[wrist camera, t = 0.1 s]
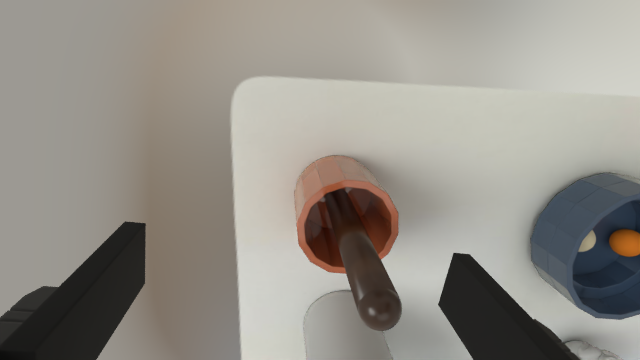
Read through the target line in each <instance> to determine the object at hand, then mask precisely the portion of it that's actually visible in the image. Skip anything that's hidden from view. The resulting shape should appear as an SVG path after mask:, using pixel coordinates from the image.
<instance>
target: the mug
mask: <svg viewBox="0 0 640 360" xmlns="http://www.w3.org/2000/svg"><path fill="white" fill-rule="evenodd" d="M304 339H305V349H306V360H393V358H392V355H391V353H390V350H389V347H388V344H387V342H386V339H385V336H384V334H383V331H376V330H373V329H371V328H369V327H367V326H366V325H365V324H364V323H363V322H362V320H361V319H360V316H359V314H358V311H357V307H356V304H355V301H354V297H353V294H352V292H350V291H337V292H332V293H329V294H326V295H324V296H322V297H321V298H319V299H318V300H316V301H315V302H314V303H313V304H312V305H311V306H310V308H309V309H308V311H307V313H306V315H305V318H304Z"/></svg>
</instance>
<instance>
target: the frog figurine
mask: <svg viewBox="0 0 640 360" xmlns="http://www.w3.org/2000/svg"><path fill="white" fill-rule="evenodd" d="M565 345H566V346H567V347H568V348H569V349H570V350H571V352H573V353H574V354H575V355H576V356H577V357H578V358H579V359H580V360H623V359H621V358H620V357H618V356H617V355H615V354H613V353H611V352H609V351H606V350H602V351H601V350H600V349H599V348H597V347H593V346H592V345H590V344H588V343H585V342H582V341H570V342H567V343H565Z"/></svg>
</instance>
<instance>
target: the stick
mask: <svg viewBox="0 0 640 360" xmlns="http://www.w3.org/2000/svg"><path fill="white" fill-rule="evenodd" d="M325 204H326V207H327V210H328V214H329V217H330V220H331V224H332V227H333V230H334V234H335V237H336V241H337V244H338V247H339V251H340V254H341V257H342V261H343V264H344V267H345V271H346V274H347V277H348V281H349V284H350V287H351V291H352V294H353V297H354V301H355V304H356V307H357V311H358V314H359V316H360V319H361V320H362V322H363V323H364V324H365V325H366V326H367V327H369V328H371V329H373V330H376V331H386V330H389V329H391V328H392V327H394V326H395V325H396V324H397V323H398V321H399V320H400V317H401V314H402V304H401V301H400V298H399V296H398V294H397V292H396V290H395V288H394V286H393V284H392V282H391V280H390V278H389V276H388V274H387V272H386V270H385V268H384V266H383V264H382V262H381V260H380V258H379V256H378V254H377V252H376V250H375V248H374V246H373V244H372V241H371V239H370V237H369V235H368V233H367V231H366V229H365V227H364V225H363V223H362V221H361V219H360V217H359V215H358V213H357V211H356V209H355V207H354V205H353V203H352V201H351V199H350V197H349V195H348V193H347V192H346V191H344V190H343V189H338V190H335V191H332V192H328V194H327V195H326V198H325Z"/></svg>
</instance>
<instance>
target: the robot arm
mask: <svg viewBox="0 0 640 360" xmlns="http://www.w3.org/2000/svg"><path fill="white" fill-rule="evenodd" d="M145 226H146V224H145V223H135V222H124V223H123V224H122V225H121V226H120V227H119V228H118V229H117V230H116V231H115V232H114V233H113V234H112V235H111V236H110V237H109V238H108V239H107V240H106V241H105V242H104V243H103V244H102V245H101V246H100V247H99V248H98V249H97V250H96V251H95V252H94V253H93V254H92V255H91V256H90V257H89V258H88V259H87V260H86V261H85V262H84V263H83V264H82V265H81V266H80V267H79V268H78V269H77V270H76V271H75V272H74V273H73V274H72V275H71V276H70V277H69V278H68V279H67V280H66V281H64V283H62V284H61V286H59V287H48V286H43V287H41V288H39V289H37V290H35V291H33V292H31V293H29V294H27V295H25V296H24V297H23V298H22V299H21V300H19V301H18V302H17V303H16V304H15V305H14V306H13V307H12V308H11V309H10V311H7V312H6V313H5V314H4V315H3V316H1V317H0V360H96V359H97V358H98V356H99V355H100V353H101V351H102V350H103V348H104V347H105V345H106V344H107V342H108V340H109V339H110V337H111V336H112V334H113V333H114V331H115V329H116V328H117V326H118V325H119V323H120V322H121V320H122V318H123V317H124V315H125V314H126V312H127V310H128V309H129V307H130V306H131V304H132V303H133V301H134V299H135V298H136V296H137V295H138V293H139V292H140V290H141V289H142V287H143V285H144V284H145ZM438 305H439V307H440V308H441V310H442V311H443V313H444V314H445V316H446V318H447V319H448V321H449V322H450V324H451V325H452V327H453V328H454V330H455V332H456V333H457V335H458V336H459V338H460V339H461V341H462V342H463V344H464V346H465V347H466V349H467V350H468V352H469V353H470V355H471V356H472V358H473V360H580V359H579V358H578V357H577V356H576V355H575V354H574V353H573V352H571V350H570V349H569V348H568V347H567V346H566V345H565V344H564V343H562V341H561V340H560V339H559V338H558V337H557V336H556V335H555V334H554V333H553V332H552V331H551V330H550V329H549V328H547V327H546V326H544V325H543V324H541V323H540V322H538V321H537V320H536V319H532V318H531V317H530V316H529V315H528V314H527V313H526V312H525V311H524V310H523V309H522V308H521V307H520V306H519V304H518V303H517V302H516V301H515V300H514V299H513V298H512V297H511V296H510V295H509V294H508V293H507V292H506V291H505V290H504V289H503V288H502V287H501V286H500V285H499V284H498V283H497V282H496V281H495V280H494V279H493V278H492V277H491V276H490V275H489V274H488V273H487V272H486V271H485V270H484V269H483V268H482V267H481V266H480V265H479V264H478V263H477V262H476V260H475V259H474V258H473V257H472V256H471V255H470V254H460V253H453V257H452V260H451V264H450V267H449V270H448V274H447V277H446V280H445V284H444V287H443V291H442V294H441V297H440V301H439V304H438Z"/></svg>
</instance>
